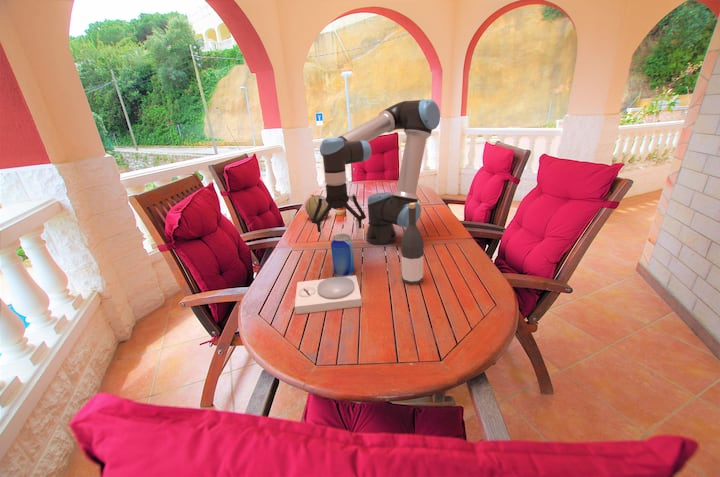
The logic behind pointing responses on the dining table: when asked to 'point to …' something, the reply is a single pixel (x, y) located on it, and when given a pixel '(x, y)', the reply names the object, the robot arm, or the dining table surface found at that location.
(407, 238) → the wine bottle
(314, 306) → the scale
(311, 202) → the cantaloupe
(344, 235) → the beer can
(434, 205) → the dining table surface
